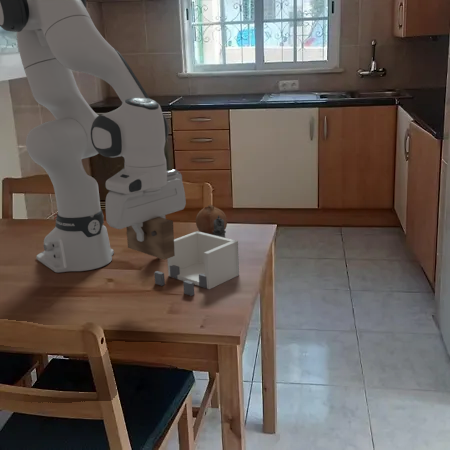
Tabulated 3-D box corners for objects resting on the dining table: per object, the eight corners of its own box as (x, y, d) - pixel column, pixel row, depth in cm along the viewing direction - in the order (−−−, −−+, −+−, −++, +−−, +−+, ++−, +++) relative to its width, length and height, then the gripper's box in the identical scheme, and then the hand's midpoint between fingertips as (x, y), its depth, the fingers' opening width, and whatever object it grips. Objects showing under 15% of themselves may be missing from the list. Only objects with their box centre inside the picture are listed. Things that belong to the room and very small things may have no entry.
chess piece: (230, 253, 161) (229, 211, 158) (231, 261, 156) (230, 218, 152) (209, 254, 161) (207, 213, 158) (209, 262, 156) (207, 219, 152)
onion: (198, 232, 181) (196, 201, 178) (228, 231, 180) (227, 200, 177) (195, 242, 172) (193, 209, 169) (227, 241, 171) (225, 208, 168)
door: (125, 248, 132) (123, 214, 129) (137, 244, 134) (135, 210, 132) (162, 260, 124) (160, 224, 122) (174, 255, 127) (173, 220, 124)
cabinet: (152, 282, 144) (150, 248, 141) (198, 263, 155) (196, 231, 152) (193, 296, 135) (191, 260, 132) (239, 274, 146) (237, 240, 144)
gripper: (171, 166, 134) (173, 223, 138) (98, 183, 119) (104, 246, 123) (190, 169, 130) (192, 228, 134) (118, 188, 115) (123, 253, 119)
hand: (149, 237), depth 129 cm, fingers closed on door, 3 cm apart
